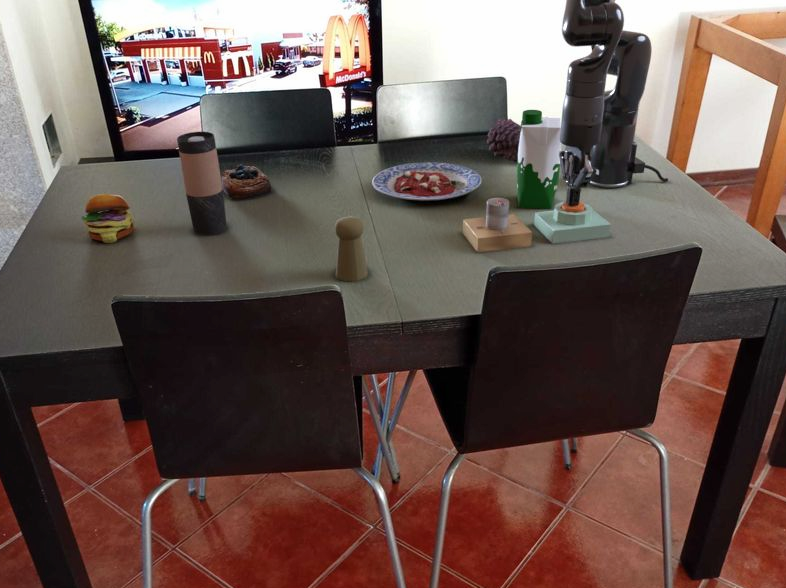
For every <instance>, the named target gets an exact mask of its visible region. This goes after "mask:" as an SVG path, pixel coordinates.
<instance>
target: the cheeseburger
mask: <svg viewBox="0 0 786 588" xmlns="http://www.w3.org/2000/svg"><path fill="white" fill-rule="evenodd" d="M130 209H131V206H130V205H129V203H128V202H127V200H125V198H124V197H122V196H121V195H119V194H109V193H100V194H96V195H92V196H90V198H89V199H88V200H87V203H86V205H85V210H84V211H85V213H86V214H85V215H83V216H81V220H82V221H83V224H84V225H86V230H88V235H89V237H90V239H93V240H95V241H99V242H103V243H106V244H113V243H115V242H117V241H118V240H119V239H123V238H124V237H127V236H128V235H130V234H131V233H132V232H134V231H135V230H134V229H135V227H134V224H135V220H134V218H133V215H132V213H131V211H128V210H130Z"/></svg>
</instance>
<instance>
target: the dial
mask: <svg viewBox="0 0 786 588" xmlns="http://www.w3.org/2000/svg"><path fill="white" fill-rule="evenodd" d="M485 209H486V211H485V217H486V227H488V228H490V229H494V230H500V229H505V228H507V227H508V217H509V215H510V200H509V199H506V198H503V197H492V198H488V199H487V200H486V208H485Z"/></svg>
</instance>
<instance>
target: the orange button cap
mask: <svg viewBox="0 0 786 588" xmlns="http://www.w3.org/2000/svg"><path fill="white" fill-rule="evenodd" d="M564 202H565V203H563V204H562V210H563V211H566V212H573V213H578V212H583V211H584V209H585V205H584V204H583V203H584V202H581V201H579V205H578V206H569V205H568V204H566V201H564Z"/></svg>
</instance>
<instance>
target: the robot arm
mask: <svg viewBox="0 0 786 588" xmlns="http://www.w3.org/2000/svg"><path fill="white" fill-rule="evenodd" d="M624 25H625V15H624V12H623V9H622V8H621V6H620V5H619V4H618V3H616V0H565V7H564V13H563V17H562V23H561V35H562V38H563V40H564V41H565V43H566V44H567V45H569V46H570V47H575V48H579V47H591V52H590V53H589V54H587V55H586V56H583V57H580V58H577V59H575V60H572V61H571V62H570V63H569V65H568V68H567V73H566V74H567V77H566V84H565V85H566V87H565V94H564V100H563V104H562V111H561V119H560V123H561V131H560V142H561V143H562V145H563V146H564V150H561V151H560V152H559V158H560V171H561V175H562V179H563V181H565V186H566V187H567V188H566V196H565V197H566V198H565V202H566V204H568V205H569V206H578V205H579V202H580V198H581V191H582V189H586V188H588V186H589V185H592V186H594V187H598V188H605V189H614V188H615V189H616V188H622V187H625V186H627V185H631V184H632V183H633V177H634V176H633V175H635V174H643V173H645V169H648V170H651V171H652V172H653V173H655V174H656V176H657V178H658V179H659V180H660V181H661V182H664V183H665V182H668V181H669V178H668V177H666V178H665V177H663V176H662V174H661V172H660V171H659V169H657V168H655V167H654V166H651V165H648V164H646V162H645V161H643V160H641V159H640V158H638V157H637V148H638V143H637V142H636V141H635V137H636V130H637V123H638V117H639V110H640V103H641V100H642V98H643V96H644V94H645V89H646V85H647V80H648V74H649V70H650V65H651V59H652V49H653V48H652V41H651V39H650V37H649V36H648V35H647V34H645V33H642V32H638V31H631V30H630V31H629V30H624ZM608 75H609V76H615V77H616V81H615V86H614V88H613V89H609V90H606V83H607V76H608Z"/></svg>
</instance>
